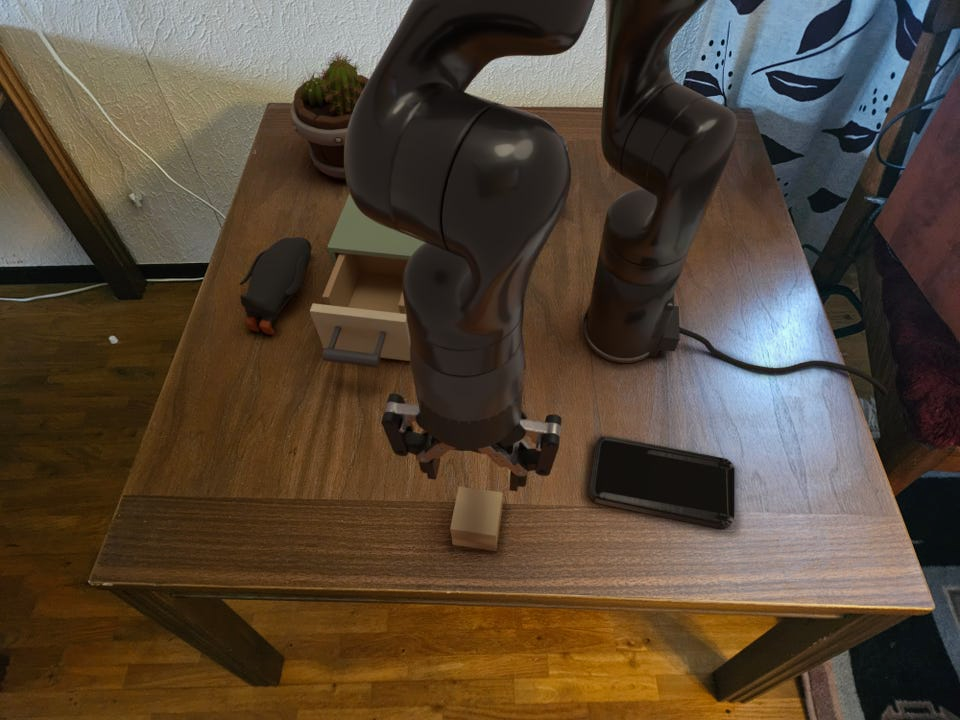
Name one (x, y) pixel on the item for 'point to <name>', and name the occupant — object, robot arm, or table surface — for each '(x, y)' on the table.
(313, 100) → the flowerpot
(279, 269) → the figurine
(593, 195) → the table surface
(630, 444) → the phone
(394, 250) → the cabinet
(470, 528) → the block
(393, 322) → the drawer
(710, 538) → the table surface
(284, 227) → the table surface
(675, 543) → the table surface
